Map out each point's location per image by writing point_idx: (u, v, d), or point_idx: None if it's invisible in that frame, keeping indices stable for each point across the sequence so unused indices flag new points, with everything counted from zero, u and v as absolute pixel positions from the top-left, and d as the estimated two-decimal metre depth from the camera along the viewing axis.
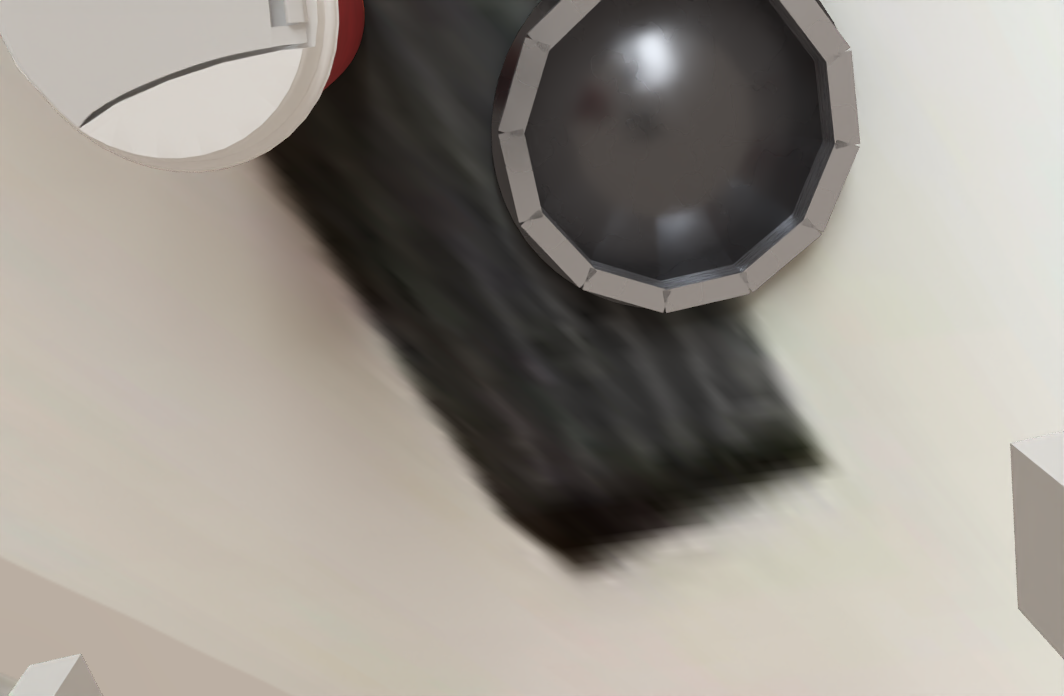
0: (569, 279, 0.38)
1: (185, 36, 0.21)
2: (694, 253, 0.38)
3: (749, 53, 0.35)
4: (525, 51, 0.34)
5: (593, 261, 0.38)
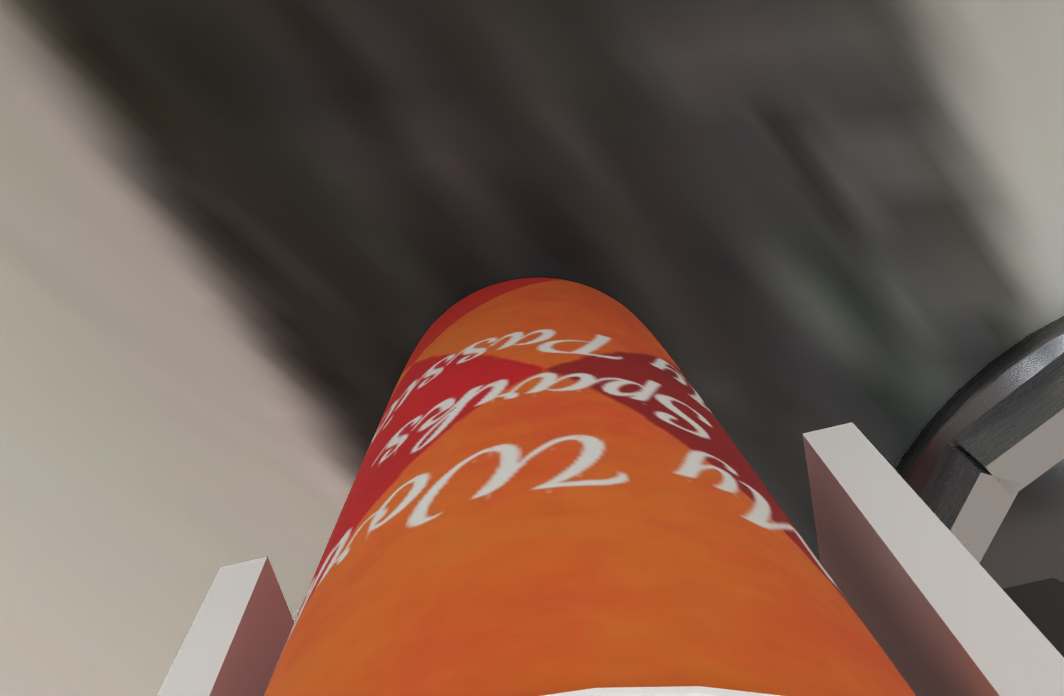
0: None
1: None
2: None
3: None
4: (977, 494, 0.19)
5: None
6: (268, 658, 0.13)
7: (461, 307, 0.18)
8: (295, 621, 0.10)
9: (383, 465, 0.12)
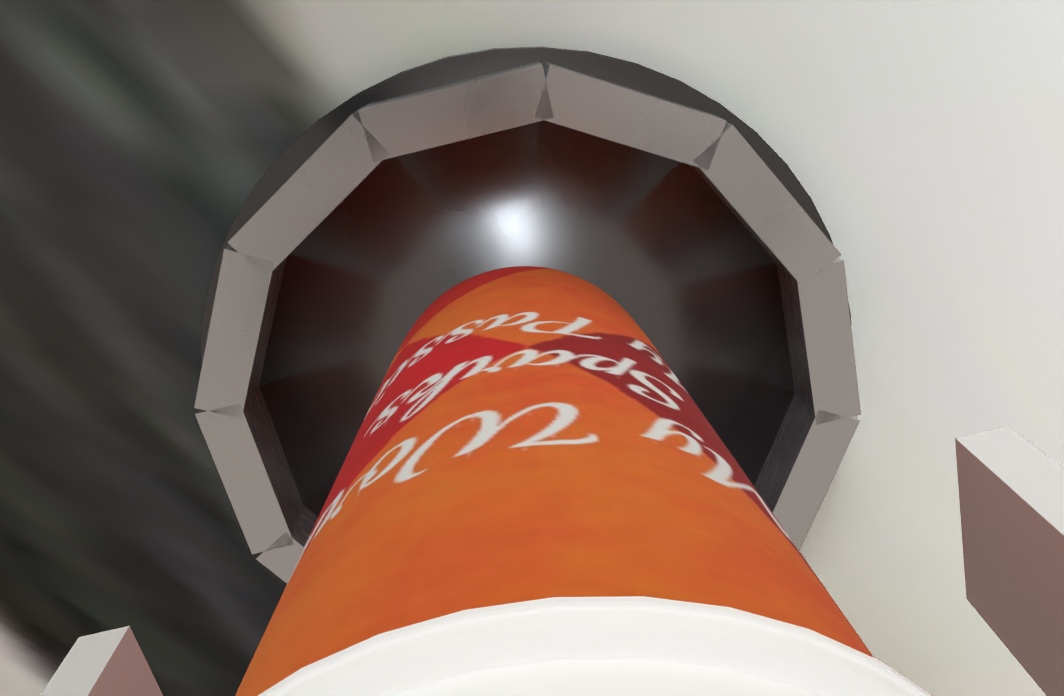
0: None
1: None
2: None
3: (659, 253, 0.20)
4: (227, 273, 0.18)
5: None
6: None
7: (451, 294, 0.18)
8: None
9: (374, 434, 0.12)
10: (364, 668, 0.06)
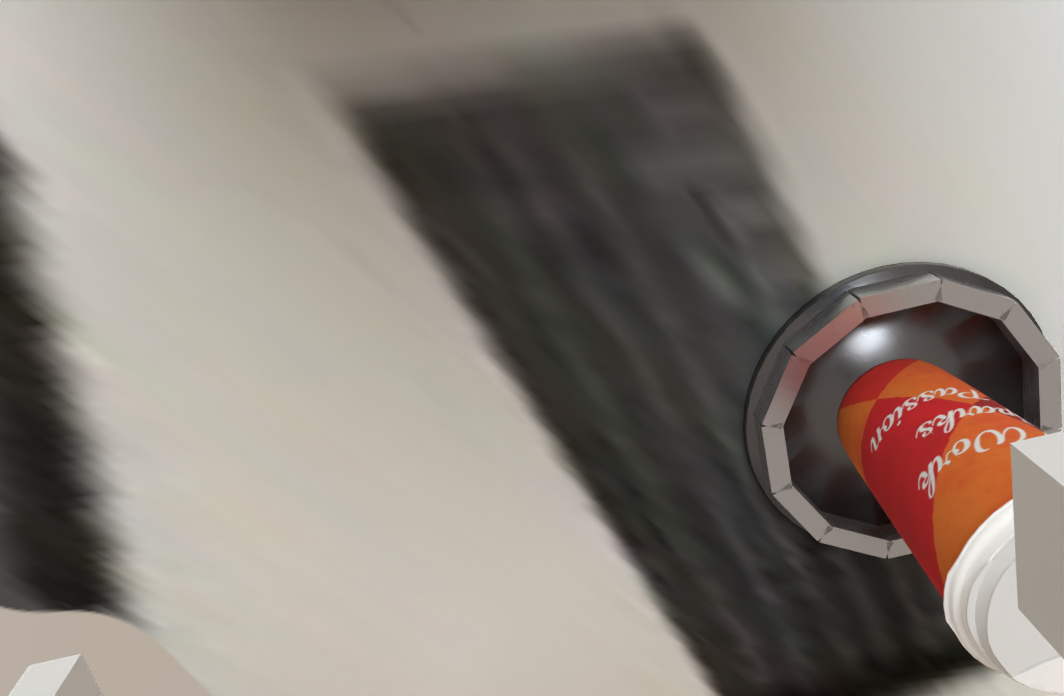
0: (801, 526, 0.45)
1: None
2: None
3: (968, 352, 0.42)
4: (790, 365, 0.40)
5: (824, 513, 0.45)
6: None
7: (883, 373, 0.41)
8: (927, 483, 0.33)
9: (929, 437, 0.35)
10: None
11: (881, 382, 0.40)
